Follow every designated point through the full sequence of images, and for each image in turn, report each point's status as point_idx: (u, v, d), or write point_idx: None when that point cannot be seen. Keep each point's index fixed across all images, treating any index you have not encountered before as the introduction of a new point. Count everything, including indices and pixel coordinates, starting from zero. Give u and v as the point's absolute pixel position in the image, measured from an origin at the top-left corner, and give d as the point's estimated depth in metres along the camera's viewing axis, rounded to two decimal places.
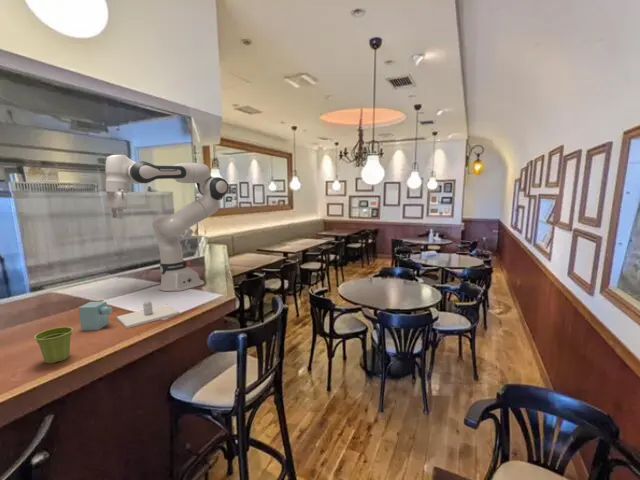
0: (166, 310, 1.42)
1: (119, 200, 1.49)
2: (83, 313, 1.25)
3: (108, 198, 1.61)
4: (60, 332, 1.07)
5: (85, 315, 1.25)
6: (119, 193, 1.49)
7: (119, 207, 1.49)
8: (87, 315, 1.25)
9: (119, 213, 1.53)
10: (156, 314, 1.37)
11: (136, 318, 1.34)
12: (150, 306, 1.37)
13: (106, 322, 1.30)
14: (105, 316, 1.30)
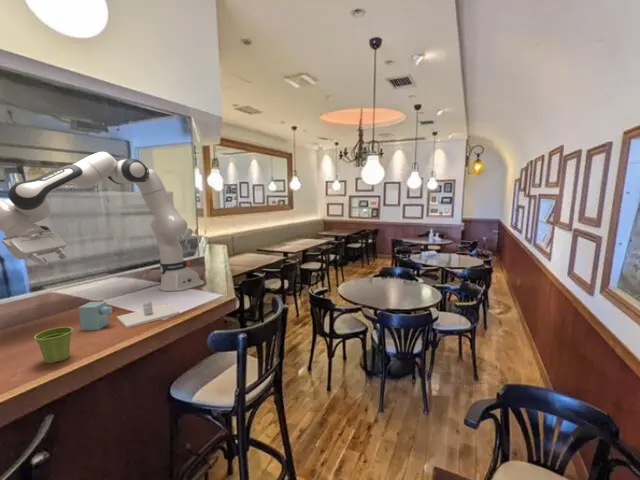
0: (166, 310, 1.42)
1: (11, 251, 1.15)
2: (83, 313, 1.25)
3: None
4: (60, 332, 1.07)
5: (85, 315, 1.25)
6: None
7: (18, 258, 1.15)
8: (87, 315, 1.25)
9: (35, 259, 1.19)
10: (156, 314, 1.37)
11: (136, 318, 1.34)
12: (150, 306, 1.37)
13: (106, 322, 1.30)
14: (105, 316, 1.30)
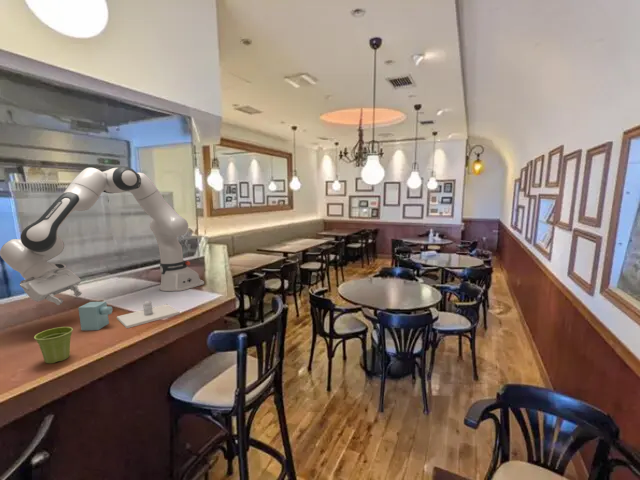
0: (166, 310, 1.42)
1: (28, 294, 1.17)
2: (83, 313, 1.25)
3: None
4: (60, 332, 1.07)
5: (85, 315, 1.25)
6: None
7: (36, 300, 1.17)
8: (87, 315, 1.25)
9: (52, 300, 1.21)
10: (156, 314, 1.37)
11: (136, 318, 1.34)
12: (150, 306, 1.37)
13: (106, 322, 1.30)
14: (105, 316, 1.30)
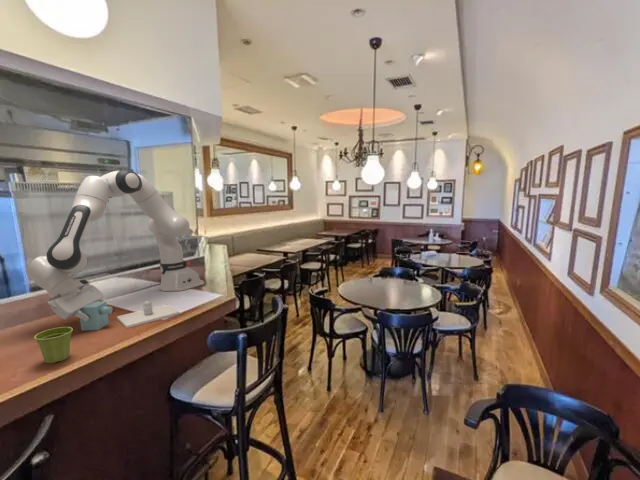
0: (166, 310, 1.42)
1: (56, 312, 1.18)
2: None
3: None
4: (60, 332, 1.07)
5: None
6: None
7: (63, 318, 1.18)
8: None
9: (80, 316, 1.23)
10: (156, 314, 1.37)
11: (136, 318, 1.34)
12: (150, 306, 1.37)
13: (106, 322, 1.30)
14: (105, 316, 1.30)
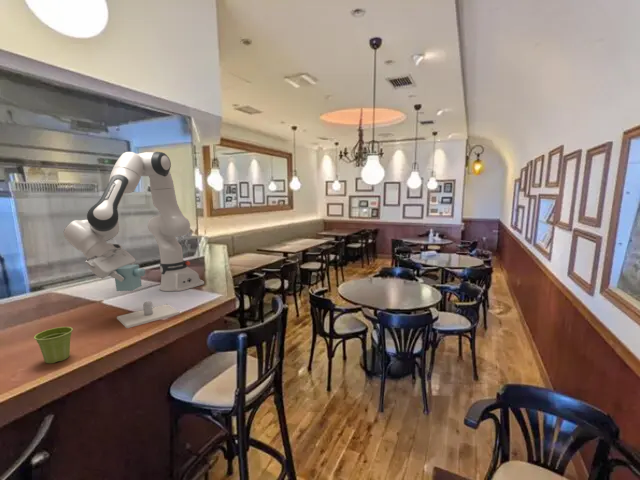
0: (166, 310, 1.42)
1: (94, 271, 1.22)
2: None
3: None
4: (60, 332, 1.07)
5: None
6: None
7: (101, 277, 1.23)
8: None
9: (116, 277, 1.28)
10: (156, 314, 1.37)
11: (136, 318, 1.34)
12: (150, 306, 1.37)
13: (139, 284, 1.35)
14: (138, 278, 1.35)
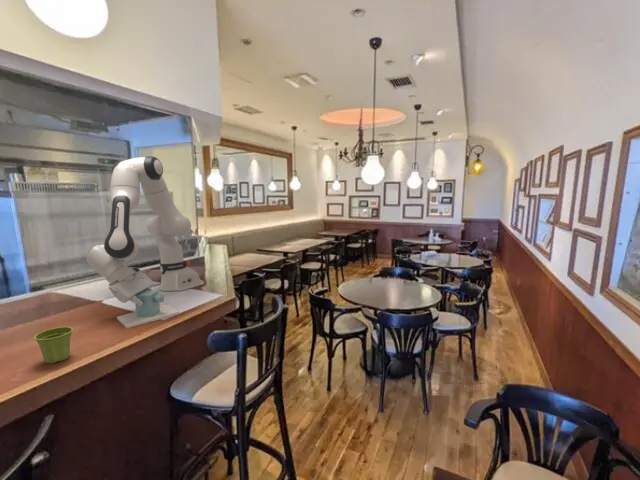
0: (166, 310, 1.42)
1: (116, 296, 1.27)
2: None
3: None
4: (60, 332, 1.07)
5: None
6: None
7: (123, 301, 1.27)
8: None
9: (135, 301, 1.31)
10: (156, 314, 1.37)
11: (136, 318, 1.34)
12: None
13: (158, 310, 1.40)
14: (157, 304, 1.39)
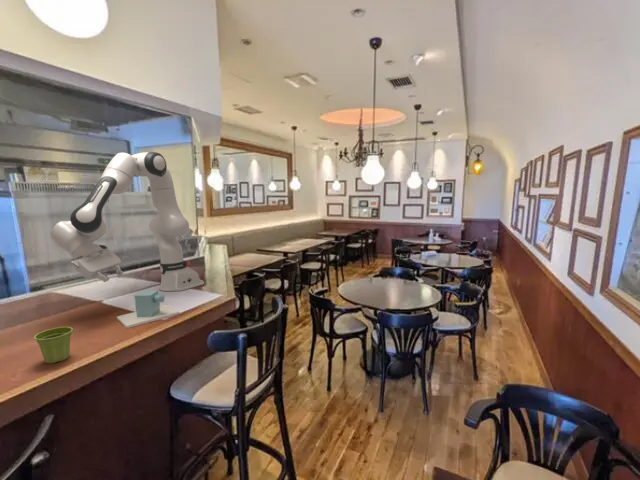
0: (166, 310, 1.42)
1: (79, 271, 1.26)
2: (139, 301, 1.34)
3: None
4: (60, 332, 1.07)
5: (141, 303, 1.34)
6: None
7: (86, 276, 1.26)
8: (142, 303, 1.34)
9: (99, 277, 1.30)
10: (156, 314, 1.37)
11: (136, 318, 1.34)
12: None
13: (158, 310, 1.40)
14: (157, 304, 1.39)
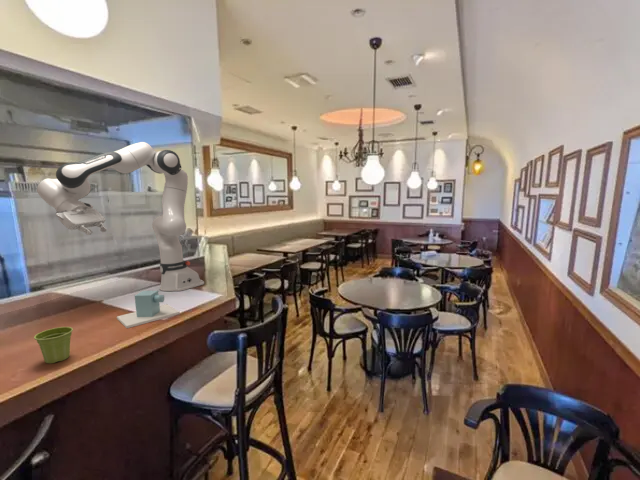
0: (166, 310, 1.42)
1: (63, 223, 1.33)
2: (139, 301, 1.34)
3: None
4: (60, 332, 1.07)
5: (141, 303, 1.34)
6: None
7: (70, 228, 1.34)
8: (142, 303, 1.34)
9: (83, 230, 1.38)
10: (156, 314, 1.37)
11: (136, 318, 1.34)
12: None
13: (158, 310, 1.40)
14: (157, 304, 1.39)
